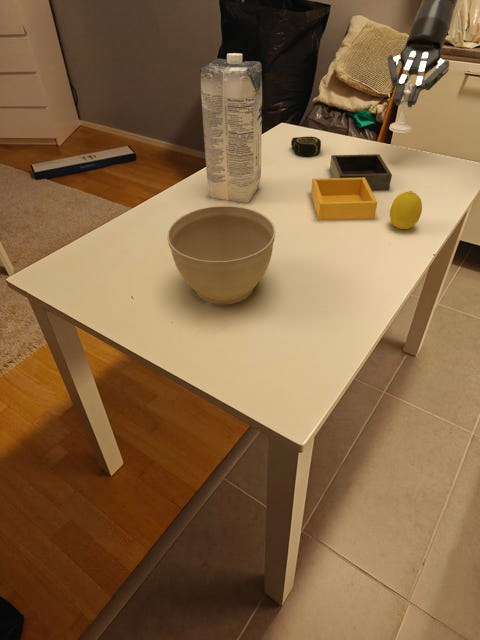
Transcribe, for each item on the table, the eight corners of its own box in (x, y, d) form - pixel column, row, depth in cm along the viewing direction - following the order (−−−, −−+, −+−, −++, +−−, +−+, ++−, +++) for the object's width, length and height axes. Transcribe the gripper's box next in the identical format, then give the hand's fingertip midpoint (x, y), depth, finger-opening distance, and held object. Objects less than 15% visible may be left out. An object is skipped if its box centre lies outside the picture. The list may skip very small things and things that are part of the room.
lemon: (396, 219, 92) (405, 181, 86) (421, 229, 89) (432, 191, 83) (380, 230, 89) (389, 191, 83) (406, 240, 86) (416, 201, 80)
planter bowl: (244, 251, 84) (244, 196, 77) (291, 300, 73) (295, 242, 66) (161, 276, 79) (152, 219, 71) (198, 333, 68) (192, 273, 61)
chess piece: (403, 134, 102) (413, 85, 95) (384, 129, 105) (393, 81, 98) (416, 129, 104) (426, 81, 97) (397, 123, 107) (406, 76, 100)
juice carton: (250, 208, 96) (250, 63, 78) (204, 200, 99) (194, 59, 81) (263, 189, 102) (266, 52, 84) (219, 183, 105) (213, 48, 87)
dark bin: (376, 171, 108) (379, 154, 106) (388, 192, 100) (392, 174, 97) (329, 172, 108) (331, 155, 106) (337, 193, 100) (339, 176, 97)
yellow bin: (361, 195, 100) (364, 177, 97) (373, 221, 91) (377, 202, 89) (310, 196, 99) (312, 178, 97) (317, 222, 91) (320, 203, 88)
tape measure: (316, 148, 119) (318, 133, 117) (322, 159, 114) (324, 143, 112) (290, 149, 119) (291, 135, 116) (295, 160, 114) (296, 145, 111)
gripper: (397, 13, 98) (370, 90, 98) (465, 17, 93) (437, 99, 93) (398, 37, 105) (373, 109, 105) (462, 42, 100) (436, 118, 100)
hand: (403, 104), depth 99 cm, fingers closed on chess piece
